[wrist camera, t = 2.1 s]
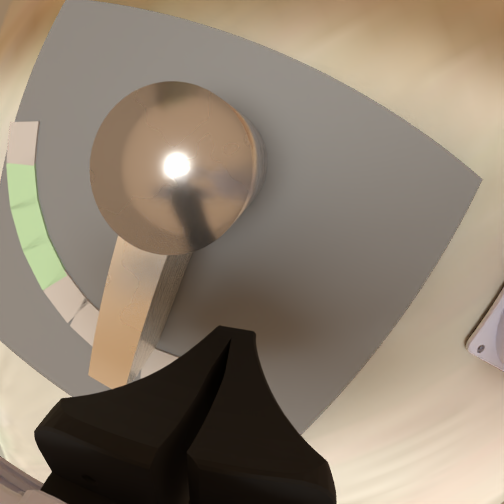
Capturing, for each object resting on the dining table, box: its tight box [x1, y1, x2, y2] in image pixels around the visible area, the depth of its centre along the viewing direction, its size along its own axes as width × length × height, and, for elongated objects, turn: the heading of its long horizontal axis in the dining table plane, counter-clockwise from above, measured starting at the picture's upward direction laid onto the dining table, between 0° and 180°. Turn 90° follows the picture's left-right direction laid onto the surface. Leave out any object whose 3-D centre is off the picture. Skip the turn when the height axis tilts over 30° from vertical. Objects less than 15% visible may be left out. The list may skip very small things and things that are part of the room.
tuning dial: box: [88, 81, 267, 389], centre depth 11 cm, size 13×4×4 cm, turn 156°
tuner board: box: [0, 0, 482, 435], centre depth 14 cm, size 21×22×1 cm
